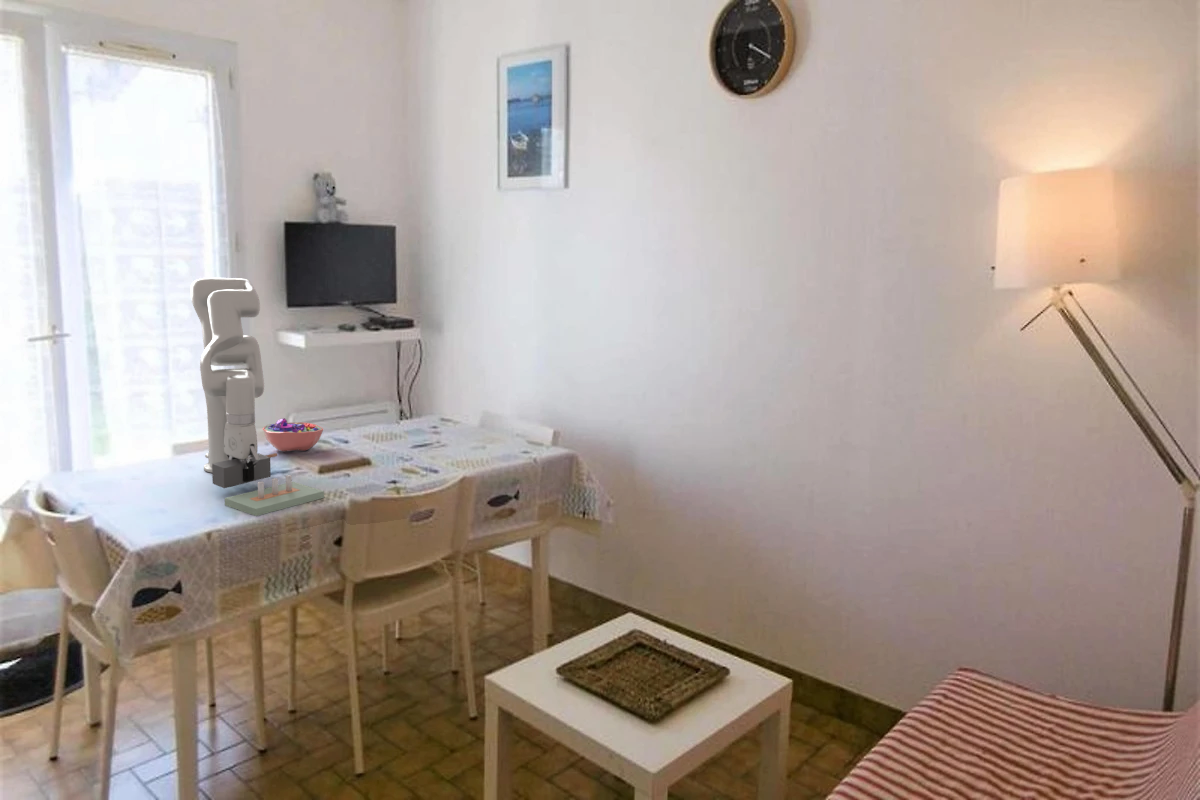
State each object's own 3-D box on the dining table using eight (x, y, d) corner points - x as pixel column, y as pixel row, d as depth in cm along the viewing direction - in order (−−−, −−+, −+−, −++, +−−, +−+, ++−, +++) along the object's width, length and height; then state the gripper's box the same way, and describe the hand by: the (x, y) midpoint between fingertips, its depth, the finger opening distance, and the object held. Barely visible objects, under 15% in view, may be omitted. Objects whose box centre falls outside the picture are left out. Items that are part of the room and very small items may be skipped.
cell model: (313, 458, 285) (313, 425, 283) (254, 455, 285) (253, 422, 283) (330, 446, 302) (329, 415, 300) (274, 443, 302) (273, 412, 300)
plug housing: (212, 483, 243) (212, 463, 242) (270, 469, 259) (270, 450, 257) (224, 488, 240) (223, 468, 239) (282, 473, 256) (282, 454, 254)
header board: (224, 505, 234) (224, 482, 233) (292, 488, 252) (292, 466, 251) (256, 516, 226) (255, 492, 225) (323, 497, 244) (323, 475, 243)
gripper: (211, 414, 245) (212, 474, 249) (247, 426, 236) (248, 488, 240) (234, 410, 251) (236, 469, 255) (270, 422, 242) (271, 482, 246)
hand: (242, 477), depth 248 cm, fingers closed on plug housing, 5 cm apart
